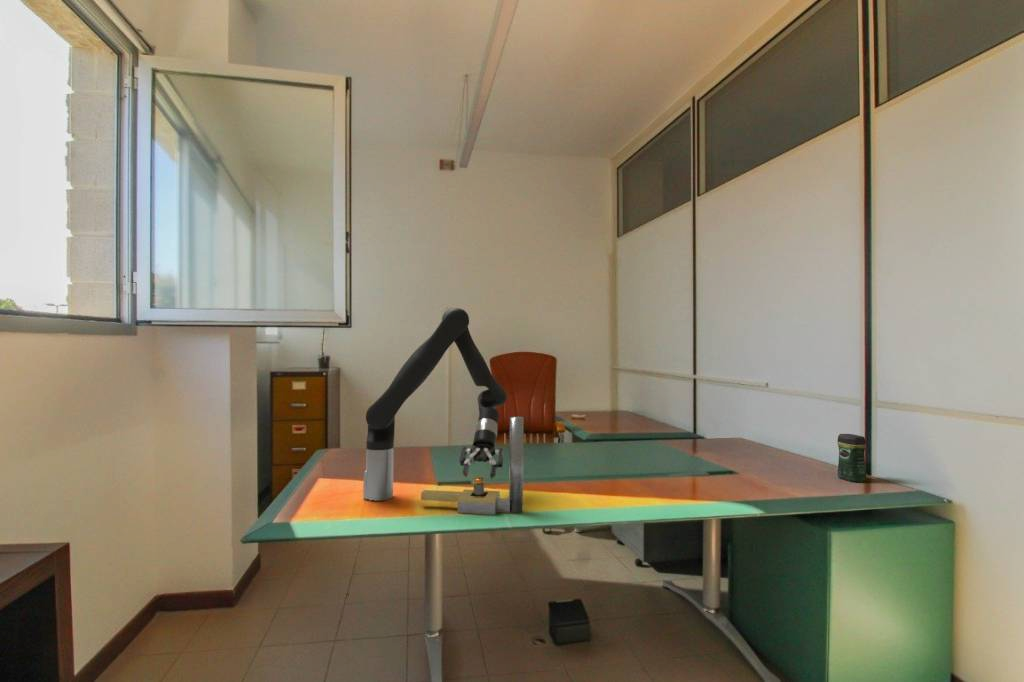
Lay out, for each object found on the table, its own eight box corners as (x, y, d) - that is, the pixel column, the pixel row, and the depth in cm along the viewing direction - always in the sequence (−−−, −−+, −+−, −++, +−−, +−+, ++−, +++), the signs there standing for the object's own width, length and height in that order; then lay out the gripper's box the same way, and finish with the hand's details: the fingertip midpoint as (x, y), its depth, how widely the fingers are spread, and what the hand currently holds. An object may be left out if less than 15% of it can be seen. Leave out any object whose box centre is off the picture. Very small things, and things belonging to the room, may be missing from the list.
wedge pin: (472, 510, 162) (472, 479, 162) (474, 507, 166) (474, 476, 166) (483, 511, 162) (483, 479, 162) (485, 508, 165) (485, 477, 165)
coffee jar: (870, 482, 203) (870, 435, 203) (854, 483, 201) (854, 436, 201) (849, 476, 212) (849, 432, 213) (833, 477, 210) (833, 432, 211)
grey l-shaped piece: (418, 510, 162) (419, 416, 162) (426, 502, 171) (427, 413, 171) (520, 516, 157) (521, 419, 158) (524, 507, 166) (525, 416, 167)
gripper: (463, 427, 172) (455, 469, 161) (505, 429, 170) (499, 471, 159) (467, 440, 178) (458, 481, 166) (507, 442, 176) (501, 483, 164)
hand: (478, 476), depth 162 cm, fingers open, 8 cm apart
